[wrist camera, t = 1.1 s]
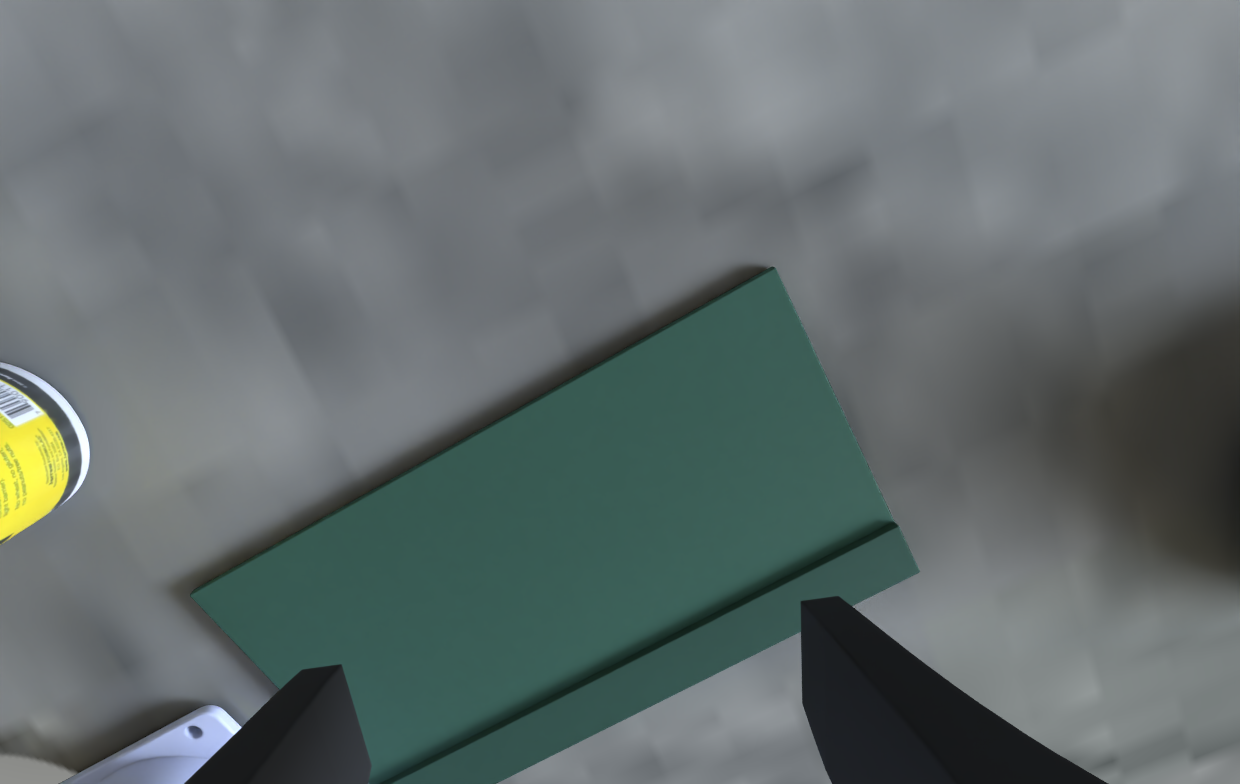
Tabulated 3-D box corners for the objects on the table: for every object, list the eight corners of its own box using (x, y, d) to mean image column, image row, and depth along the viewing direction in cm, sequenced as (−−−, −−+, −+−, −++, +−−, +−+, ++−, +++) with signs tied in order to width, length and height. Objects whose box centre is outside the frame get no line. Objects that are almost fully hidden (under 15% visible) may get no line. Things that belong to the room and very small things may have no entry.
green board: (411, 818, 24) (407, 834, 23) (194, 589, 20) (183, 601, 19) (913, 567, 22) (923, 577, 21) (772, 266, 18) (779, 268, 18)
